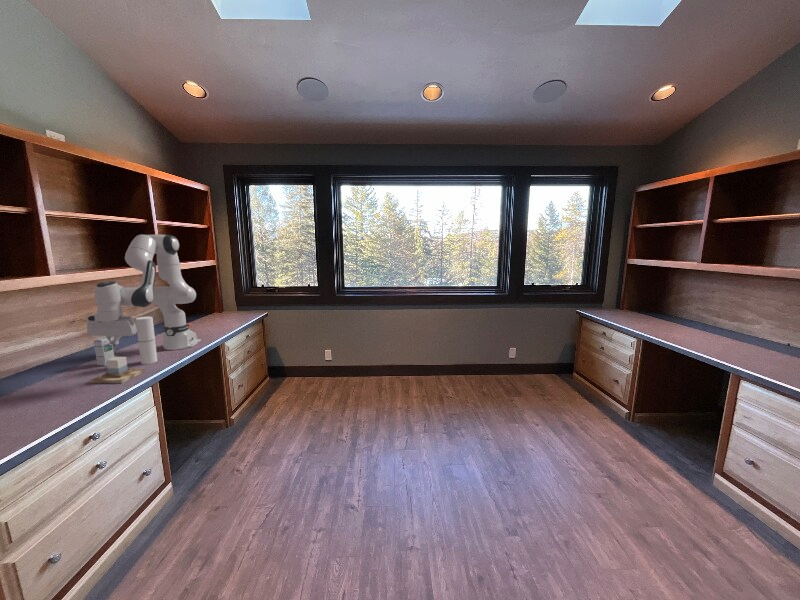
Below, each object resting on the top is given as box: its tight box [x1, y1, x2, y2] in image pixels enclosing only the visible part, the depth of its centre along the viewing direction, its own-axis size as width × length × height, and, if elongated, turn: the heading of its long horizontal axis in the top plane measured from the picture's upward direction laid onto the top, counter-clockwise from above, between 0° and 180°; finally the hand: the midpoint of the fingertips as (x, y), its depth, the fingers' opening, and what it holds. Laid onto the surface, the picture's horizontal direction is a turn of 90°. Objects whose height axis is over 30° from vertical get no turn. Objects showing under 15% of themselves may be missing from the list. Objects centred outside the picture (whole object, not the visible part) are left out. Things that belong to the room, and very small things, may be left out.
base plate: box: [89, 368, 145, 384], centre depth 152 cm, size 14×14×3 cm
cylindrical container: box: [135, 316, 158, 365], centre depth 170 cm, size 7×7×25 cm
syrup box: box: [93, 336, 117, 367], centre depth 167 cm, size 6×6×14 cm
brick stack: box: [106, 356, 129, 375], centre depth 151 cm, size 5×5×8 cm
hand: (114, 344), depth 149 cm, fingers closed
